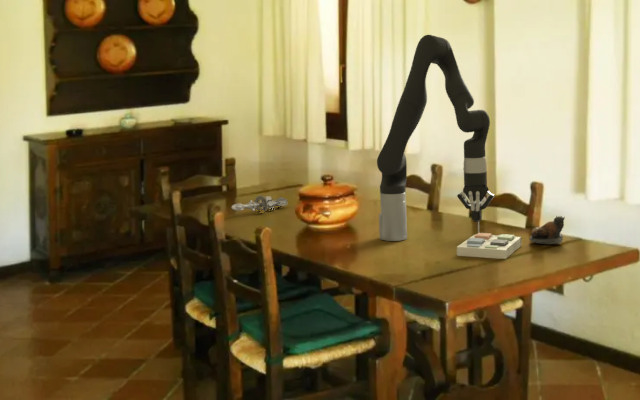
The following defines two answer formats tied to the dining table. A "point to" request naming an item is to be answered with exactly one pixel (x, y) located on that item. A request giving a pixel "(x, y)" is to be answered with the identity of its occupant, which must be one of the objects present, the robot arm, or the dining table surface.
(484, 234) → the key terracotta
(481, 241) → the key slate
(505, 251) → the keypad
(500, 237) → the key sage
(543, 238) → the brown cat figurine
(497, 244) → the key charcoal
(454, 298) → the dining table surface
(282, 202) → the spaceship
